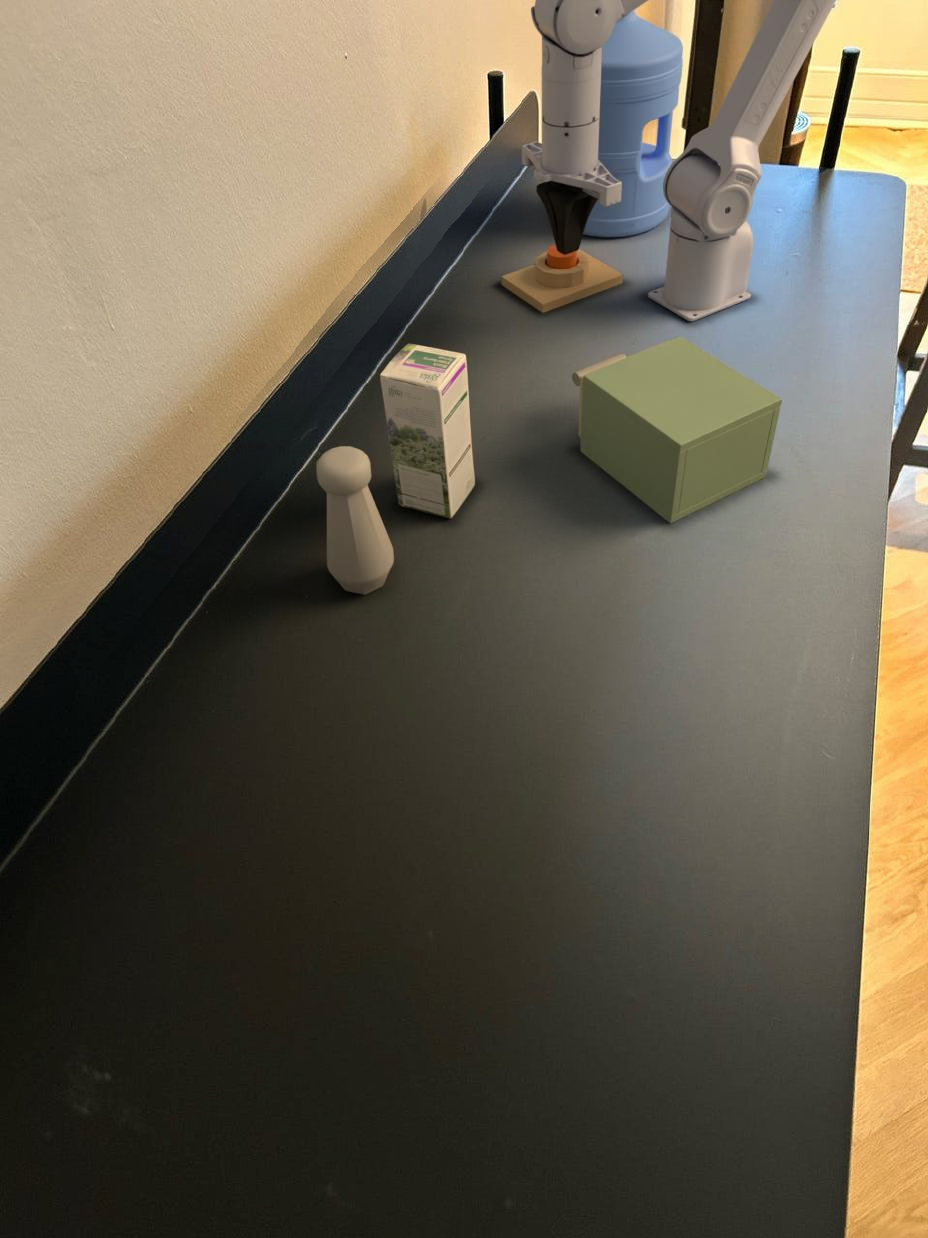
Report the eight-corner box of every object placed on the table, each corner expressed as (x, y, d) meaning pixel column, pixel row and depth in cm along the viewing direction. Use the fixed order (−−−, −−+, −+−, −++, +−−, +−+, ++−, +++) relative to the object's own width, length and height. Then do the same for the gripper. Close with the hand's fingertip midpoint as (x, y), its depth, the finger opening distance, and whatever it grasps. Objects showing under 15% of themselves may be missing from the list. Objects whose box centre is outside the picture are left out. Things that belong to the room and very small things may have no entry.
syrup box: (477, 484, 91) (468, 349, 81) (450, 522, 88) (438, 385, 77) (424, 472, 93) (409, 338, 83) (396, 508, 90) (376, 373, 79)
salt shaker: (401, 556, 85) (384, 435, 75) (392, 602, 81) (372, 480, 72) (337, 555, 85) (312, 434, 76) (324, 600, 81) (297, 479, 72)
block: (578, 257, 123) (579, 234, 121) (622, 283, 117) (624, 260, 115) (501, 285, 119) (500, 261, 117) (542, 313, 113) (542, 289, 111)
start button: (565, 254, 118) (565, 241, 117) (582, 265, 116) (583, 251, 115) (541, 263, 117) (541, 249, 116) (558, 273, 115) (558, 260, 113)
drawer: (553, 416, 97) (554, 356, 92) (633, 382, 100) (638, 323, 96) (659, 500, 87) (666, 438, 82) (745, 459, 90) (757, 397, 85)
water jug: (558, 243, 126) (561, -2, 106) (550, 195, 137) (551, -36, 117) (677, 236, 125) (702, -13, 105) (659, 188, 136) (679, -45, 116)
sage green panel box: (580, 451, 94) (582, 374, 88) (671, 411, 98) (679, 335, 92) (670, 523, 86) (680, 445, 80) (766, 476, 90) (782, 398, 83)
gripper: (496, 107, 97) (500, 237, 107) (582, 147, 88) (579, 285, 98) (552, 91, 100) (551, 220, 109) (642, 129, 91) (632, 265, 101)
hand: (568, 250), depth 104 cm, fingers closed
